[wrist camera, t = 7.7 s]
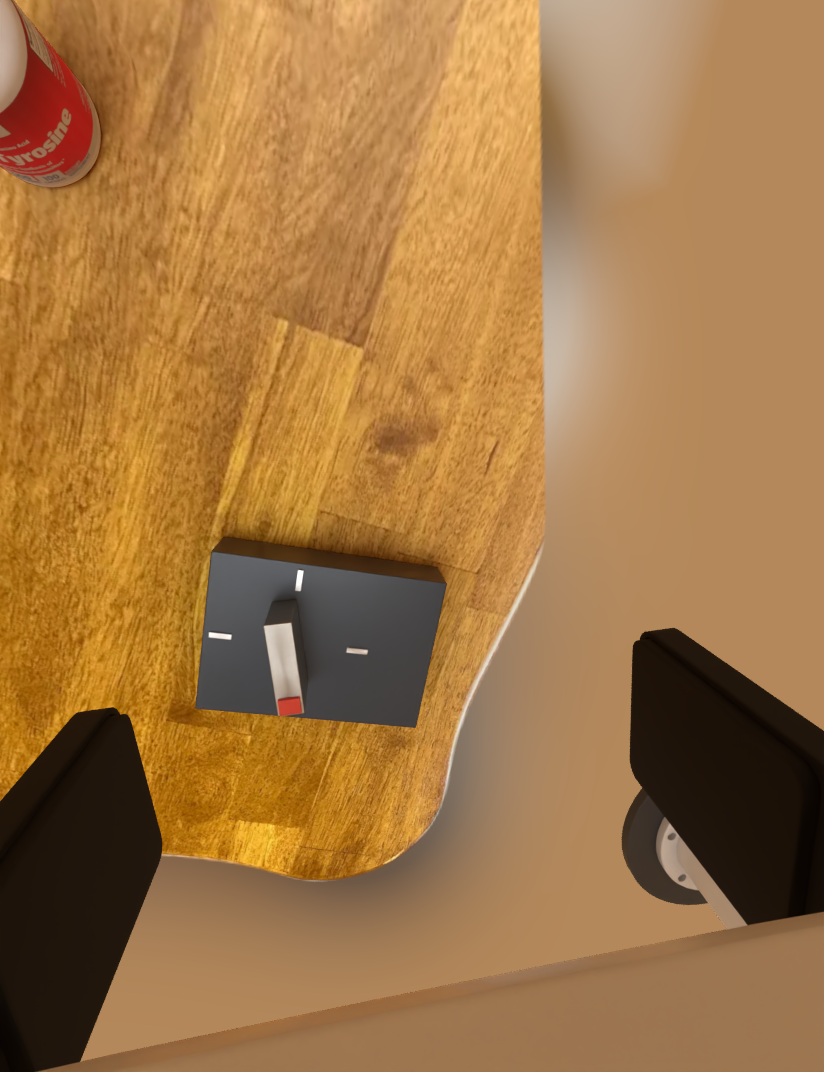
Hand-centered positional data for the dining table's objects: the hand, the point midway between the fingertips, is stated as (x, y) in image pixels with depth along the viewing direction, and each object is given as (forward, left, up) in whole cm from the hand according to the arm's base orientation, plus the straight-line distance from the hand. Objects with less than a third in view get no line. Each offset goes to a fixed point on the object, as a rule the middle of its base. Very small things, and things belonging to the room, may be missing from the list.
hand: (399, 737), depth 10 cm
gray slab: (+3, +10, -24) cm, 26 cm away
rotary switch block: (+1, +10, -27) cm, 29 cm away
